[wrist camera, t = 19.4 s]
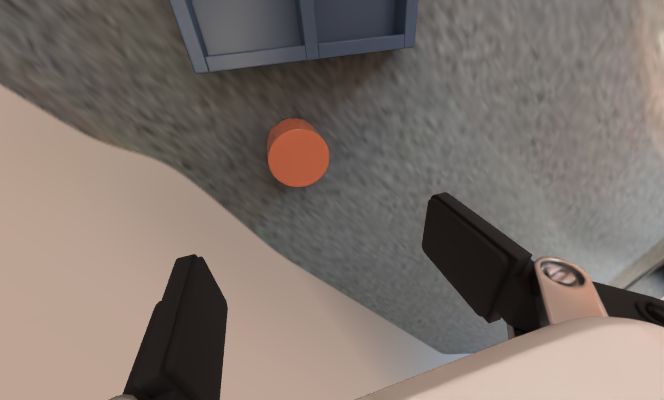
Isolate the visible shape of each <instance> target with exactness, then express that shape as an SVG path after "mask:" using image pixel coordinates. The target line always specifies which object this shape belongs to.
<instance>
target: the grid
mask: <svg viewBox="0 0 664 400" xmlns="http://www.w3.org/2000/svg"><path fill="white" fill-rule="evenodd" d="M169 2H170V5H171V7H172V10H173V13H174V16H175V19H176V21H177V24H178V27H179V30H180V33H181V35H182V38H183V41H184V44H185V47H186V49H187V52H188V55H189V58H190V61H191V63H192V66H193V69H194V72H195V73H196V74H201V73H208V72H217V71H225V70H233V69H242V68H250V67H258V66H266V65H274V64H282V63H290V62H298V61H306V60H314V59H322V58H330V57H339V56H347V55H355V54H363V53H371V52H379V51H387V50H395V49H403V48H411V47H414V45H415V32H416V20H417V8H418V0H169Z"/></svg>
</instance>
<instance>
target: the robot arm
mask: <svg viewBox="0 0 664 400" xmlns="http://www.w3.org/2000/svg"><path fill="white" fill-rule="evenodd" d="M422 248H423V251H424V252H425V254H426V255H427V256H428V257H429V258H430V260H431V261H432V262H433V263H434V264H435V265H436V267H437V268H438V269H439V270H440V271H441V273H442V274H443V275H444V276H445V277H446V278H447V280H448V281H449V282H450V283H451V284H452V285H453V287H454V288H455V289H456V290H457V291H458V293H459V294H460V295H461V296H462V297H463V298H464V300H465V301H466V302H467V303H468V304H469V305H470V307H471V308H472V309H473V310H474V311H475V312H476V313H477V314H478V315H479V316H481V317H482V316H483V318H484V319H485V320H486V321H487V322H488V323H491V322H494V321H497V320H500V319H501V317H502V318H503V319H504V320H505V322H506V323H507V330H508V338H509V340H507V341H505V342H502V343H499V344H497V345H494V346H492V347H489V348H486V349H484V350H481V351H479V352H476V353H473V354H471V355H468V356H466V357H463V358H461V359H458V360H455V361H453V362H450V363H448V364H445V365H443V366H440V367H438V368H435V369H432V370H430V371H427V372H424V373H422V374H419V375H417V376H414V377H412V378H409V379H406V380H404V381H401V382H399V383H396V384H394V385H391V386H389V387H386V388H383V389H381V390H378V391H376V392H373V393H371V394H368V395H366V396H363V397H361V398H358V399H355V400H664V301H663V300H660V299H657V298H654V297H651V296H647V295H643V294H639V293H635V292H631V291H627V290H624V289H620V288H616V287H612V286H608V285H604V284H600V283H597V282H593V281H591V279H590V277H589V276H588V274H587V273H586V272H585V271H583V270H582V269H581V268H580V267H578V266H577V265H575V264H573V263H571V262H569V261H566V260H564V259H560V258H557V257H549V256H547V257H540V258H538V259H537V260H536V261H535V262H534V261H532V260H531V259H530V258H531V256H532V254H530V253H529V252H528V251H526V250H525V249H524V248H522V247H521V246H520V245H518V244H517V243H515V242H514V241H513V240H511V239H510V238H509V237H507V236H506V235H505V234H503V233H502V232H500V231H499V230H498V229H496V228H495V227H494V226H492V225H491V224H490V223H488V222H487V221H485V220H484V219H483V218H481V217H480V216H479V215H477V214H476V213H475V212H473V211H472V210H470V209H469V208H468V207H466V206H465V205H464V204H462V203H461V202H460V201H458V200H457V199H455V198H454V197H453V196H451V195H450V194H449V193H446V192H444V193H440V194H436V195H433V196H432V197H431V199H430V200H429V201H428V206H427V213H426V220H425V227H424V233H423V240H422ZM227 310H228V308H227V303H226V300H225V298H224V296H223V294H222V292H221V290H220V288H219V287H218V285H217V283H216V281H215V279H214V277H213V275H212V274H211V272H210V270H209V268H208V266H207V264H206V262H205V260H204V259H203V257H197V256H196V255H195V254H193V255H189V256H185V257H181V258H178V259H176V262H175V264H174V267H173V270H172V273H171V275H170V278H169V281H168V284H167V287H166V290H165V293H164V295H163V298H162V301H159V302H158V303H157V304H156V306H155V308H154V311H153V313H152V316H151V319H150V321H149V324H148V327H147V330H146V332H145V335H144V338H143V340H142V343H141V346H140V349H139V351H138V354H137V357H136V359H135V362H134V365H133V367H132V371H131V373H130V375H129V378H128V381H127V384H126V386H125V389H124V392H123V394H122V395H120V396H115V397H113V398H111V399H110V400H220V389H221V378H222V367H223V356H224V344H225V333H226V321H227Z"/></svg>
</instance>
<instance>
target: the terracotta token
mask: <svg viewBox="0 0 664 400" xmlns="http://www.w3.org/2000/svg"><path fill="white" fill-rule="evenodd" d="M266 149H267V157H268V164H269V168H270V170H271V172H272V174H273V175H274V177H275V178H276V179H277V180H279V181H280V182H281V183H283V184H285V185H288V186H292V187H303V186H307V185H310V184H312V183H314V182H316V181H317V180H318V179H320V178H321V177H322V175H323V174H324V173H325V171H326V169H327V167H328V164H329V150H328V147H327V145H326V143H325V141H324V140H323V138H322V137H321V136H320V134H319V133H318V132H317V130H316V129H315V128H314V127H313V126H312V125H311V124H310V123H309V122H307V121H305V120H302V119H297V118H290V119H285V120H283V121H281V122H279V123H277V124H276V125H275V126H274V127H273V128H272V129H271V131H270V132H269V134H268V137H267V141H266Z"/></svg>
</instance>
